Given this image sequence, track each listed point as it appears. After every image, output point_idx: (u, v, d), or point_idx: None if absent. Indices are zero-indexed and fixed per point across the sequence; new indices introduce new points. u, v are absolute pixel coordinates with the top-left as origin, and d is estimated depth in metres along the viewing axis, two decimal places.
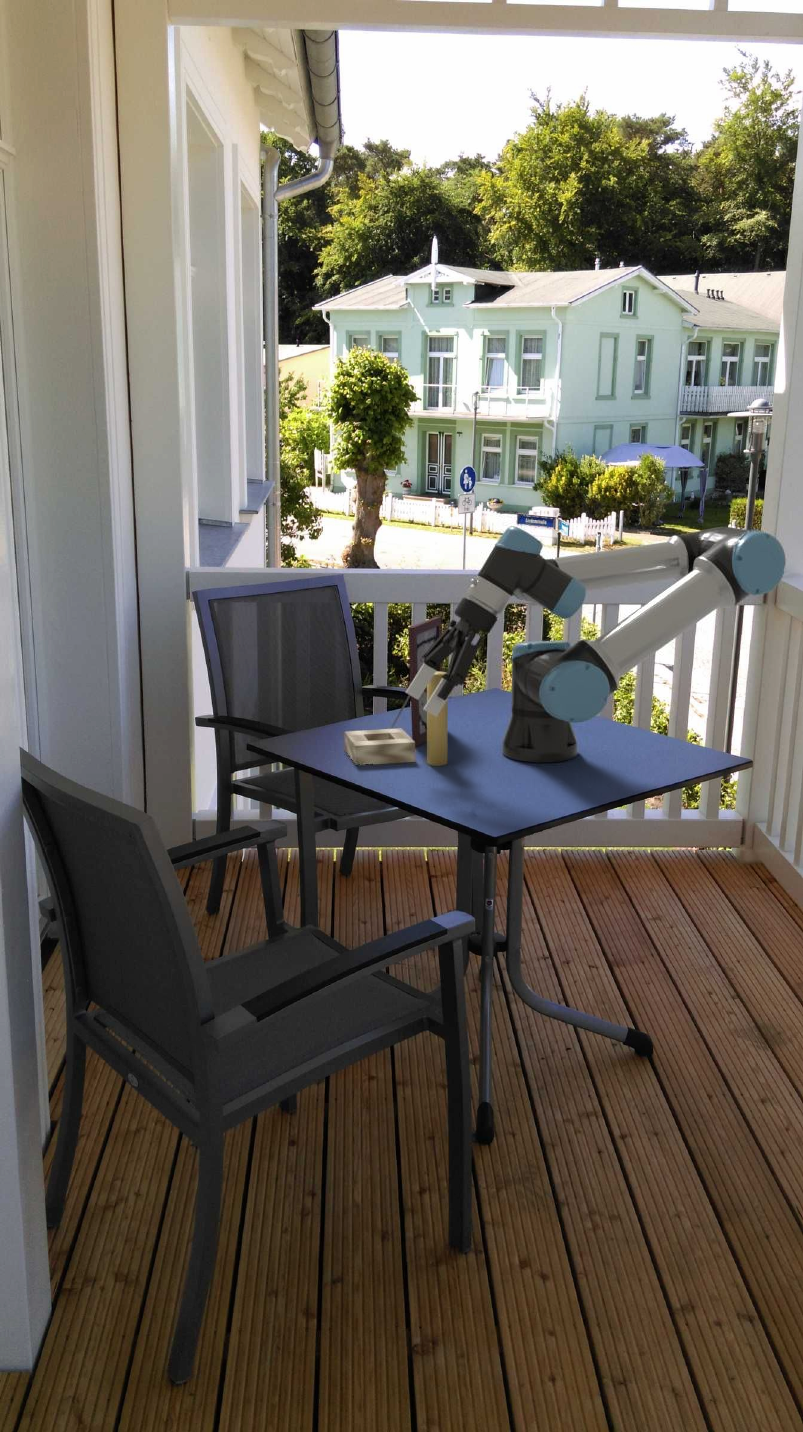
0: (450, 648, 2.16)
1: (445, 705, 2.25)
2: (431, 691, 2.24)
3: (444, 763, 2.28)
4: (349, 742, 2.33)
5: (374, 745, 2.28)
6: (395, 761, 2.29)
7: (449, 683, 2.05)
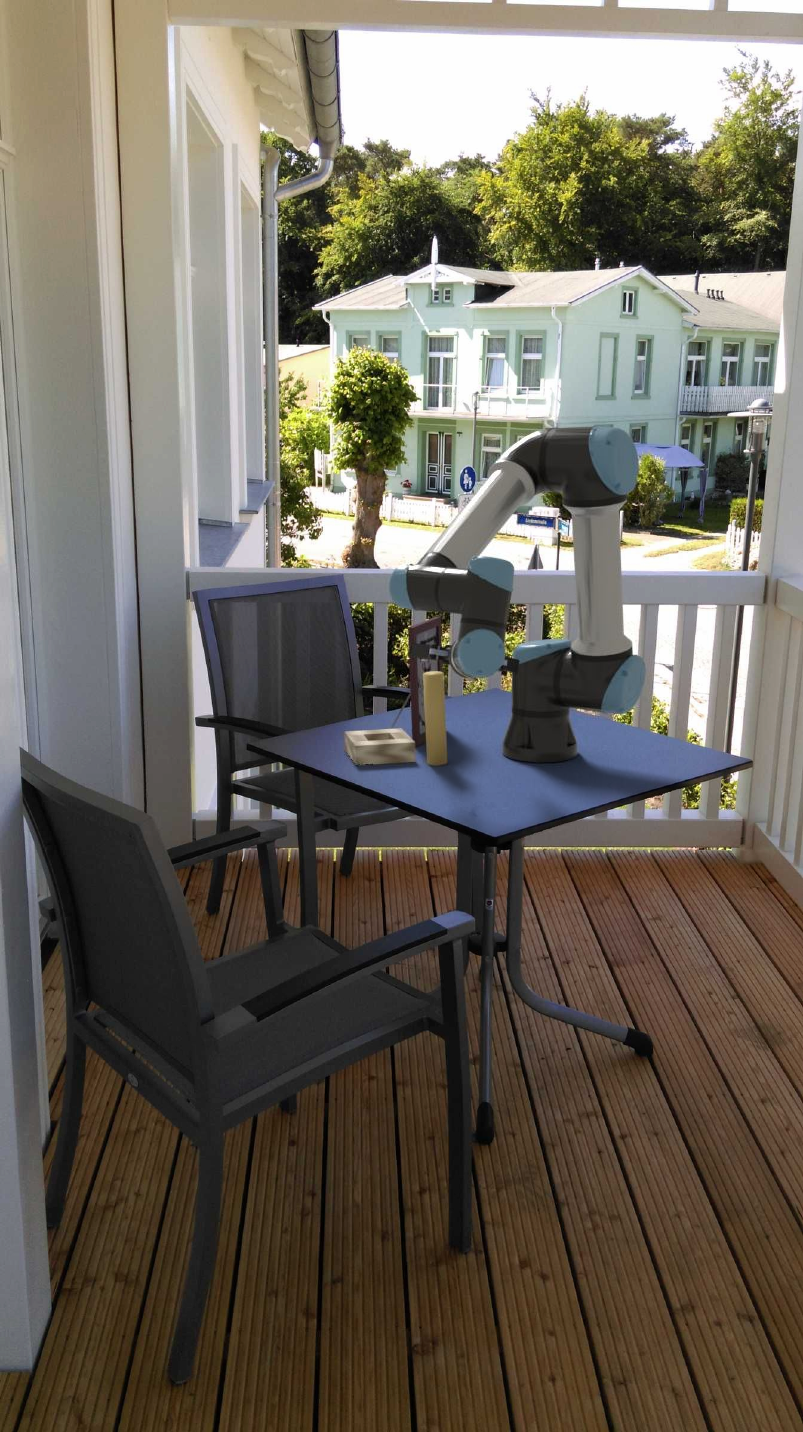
0: None
1: (442, 705, 2.25)
2: (428, 691, 2.24)
3: (444, 762, 2.28)
4: (349, 742, 2.33)
5: (374, 745, 2.28)
6: (395, 761, 2.29)
7: None
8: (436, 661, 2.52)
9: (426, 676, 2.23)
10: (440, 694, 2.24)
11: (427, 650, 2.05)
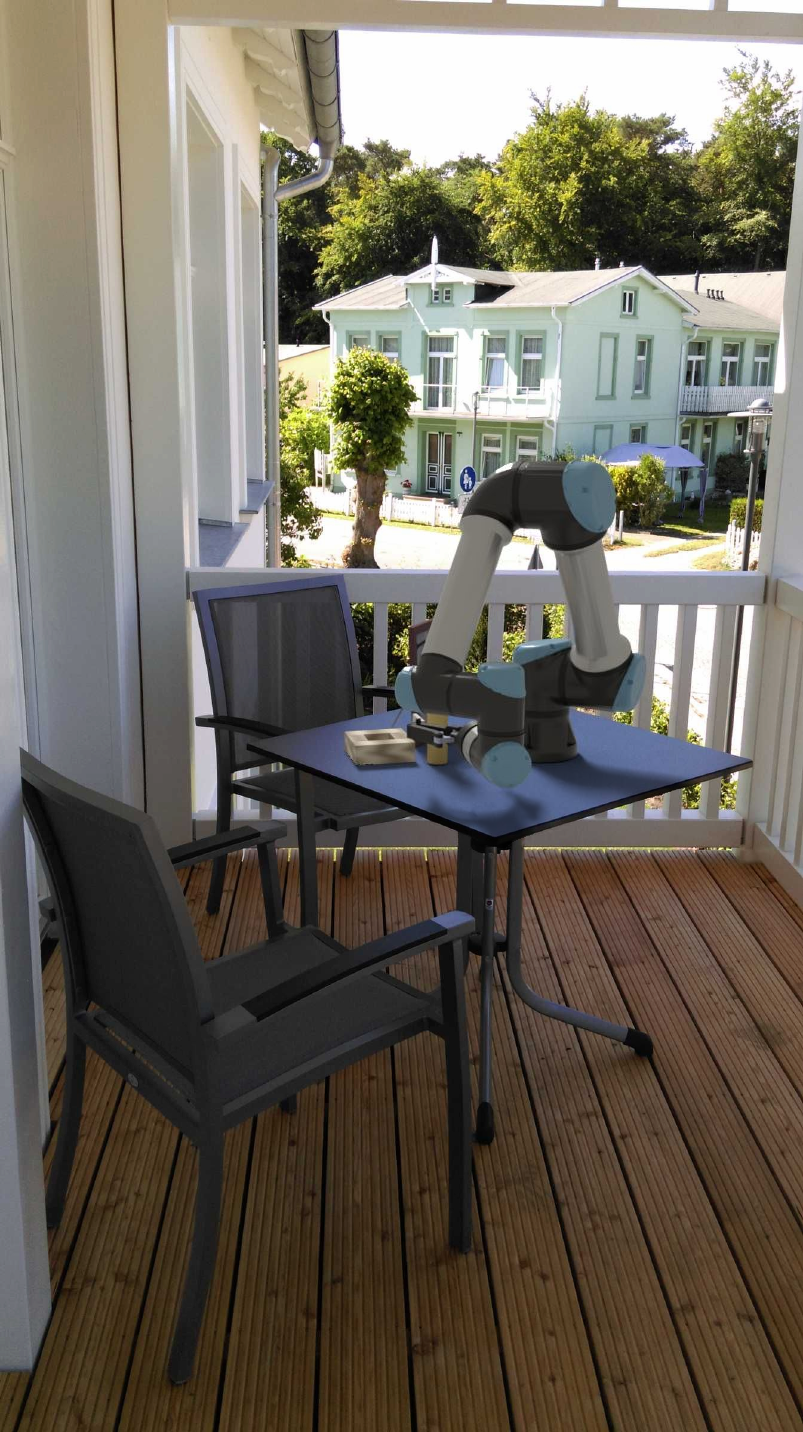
0: None
1: None
2: None
3: (444, 762, 2.28)
4: (349, 742, 2.33)
5: (374, 745, 2.28)
6: (395, 761, 2.29)
7: None
8: None
9: None
10: None
11: (430, 737, 2.02)
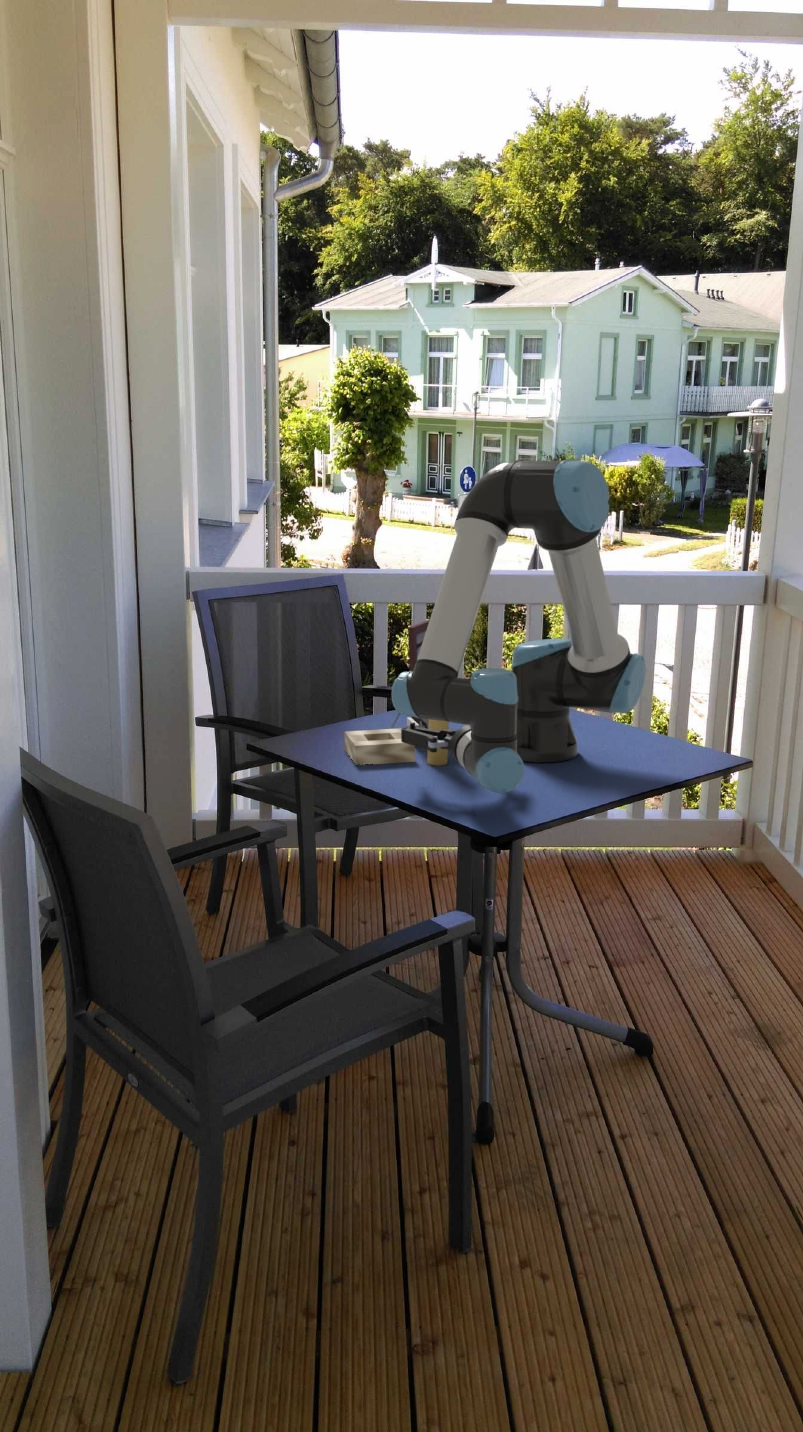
0: None
1: None
2: None
3: (444, 763, 2.28)
4: (349, 742, 2.33)
5: (374, 745, 2.28)
6: (395, 761, 2.29)
7: None
8: None
9: None
10: None
11: (425, 741, 2.06)
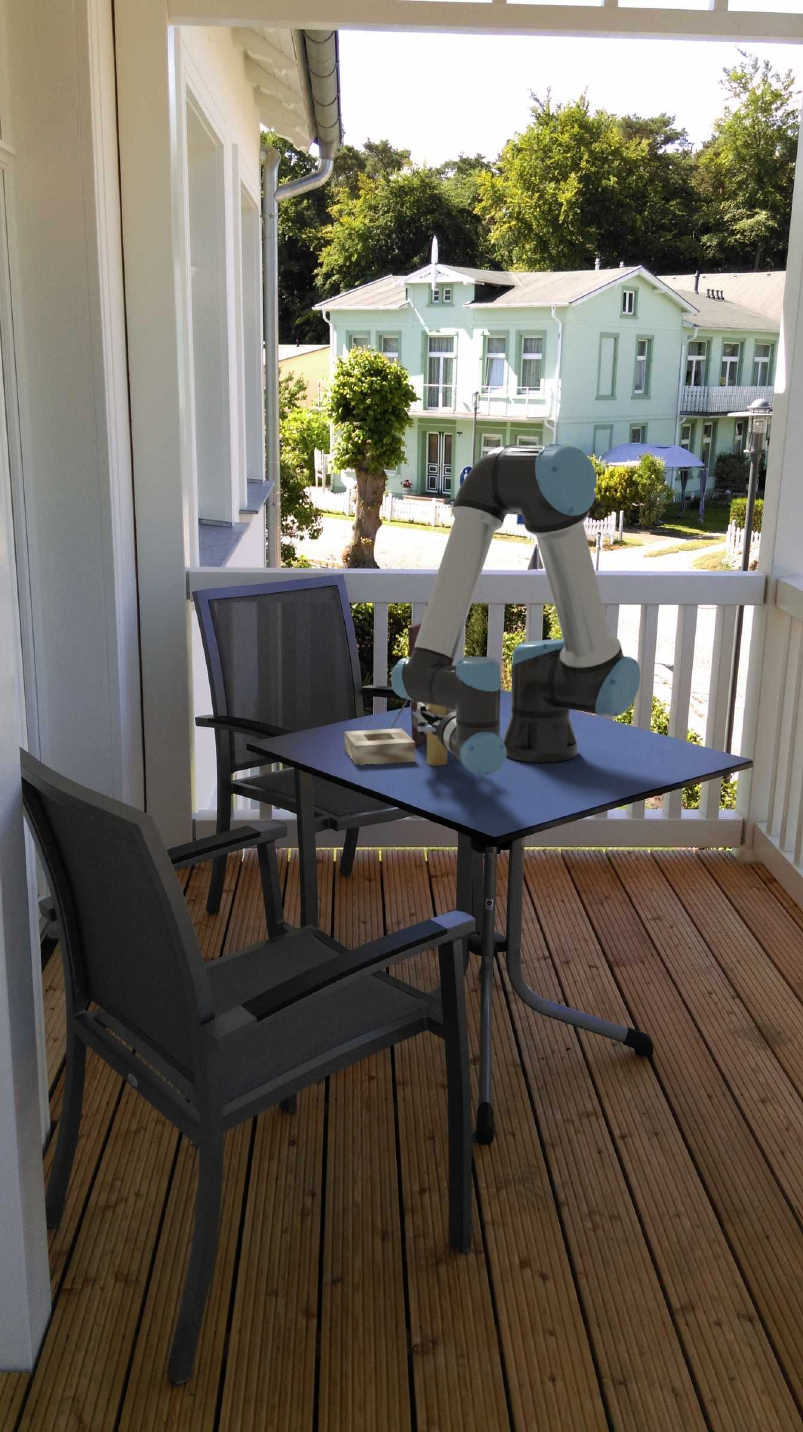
0: None
1: None
2: None
3: (444, 763, 2.28)
4: (349, 742, 2.33)
5: (374, 745, 2.28)
6: (395, 761, 2.29)
7: None
8: None
9: None
10: None
11: None
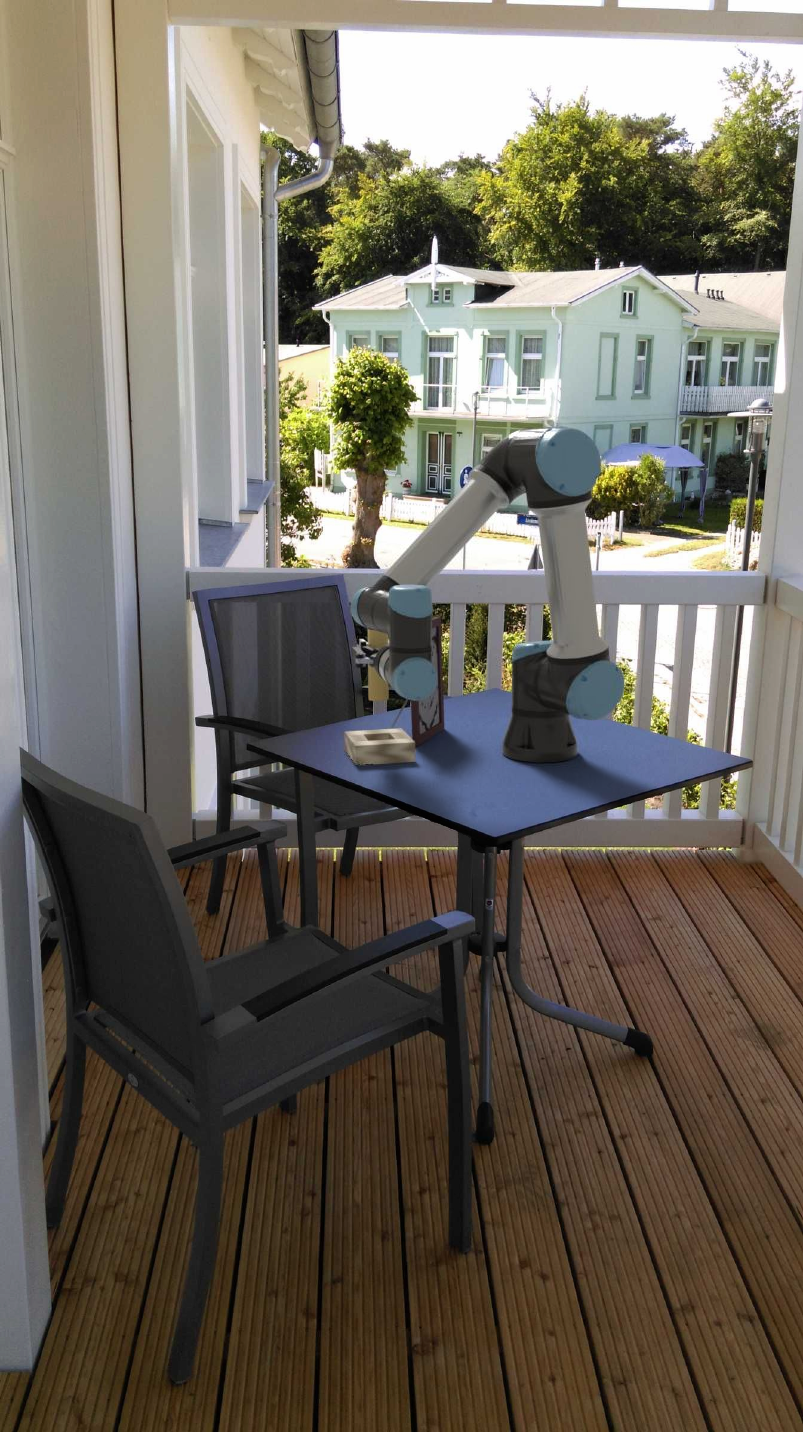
0: None
1: (385, 641, 2.28)
2: None
3: (385, 699, 2.30)
4: (349, 742, 2.33)
5: (374, 745, 2.28)
6: (395, 761, 2.29)
7: None
8: (436, 661, 2.52)
9: None
10: None
11: None
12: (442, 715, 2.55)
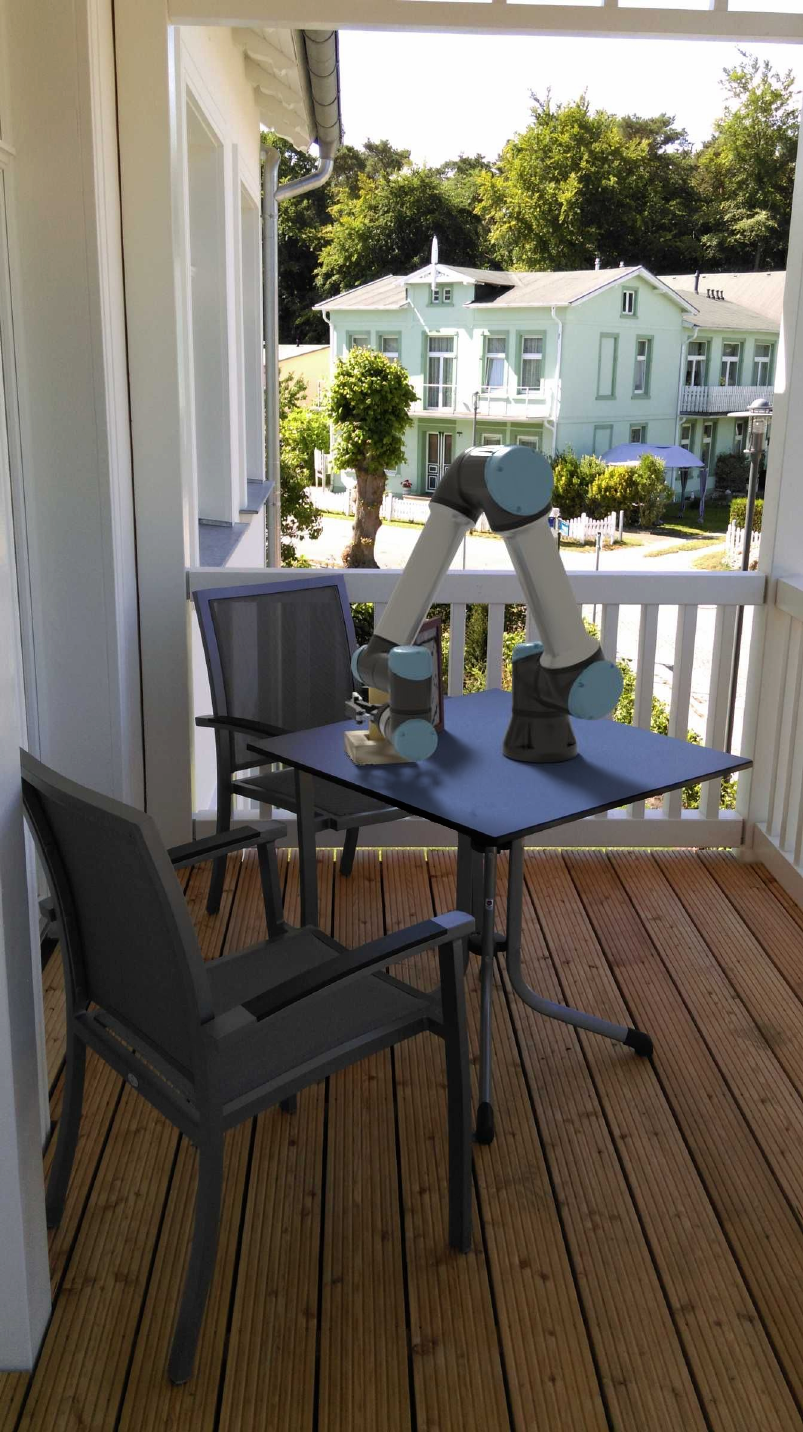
0: None
1: (386, 699, 2.31)
2: None
3: None
4: (349, 742, 2.33)
5: (374, 745, 2.28)
6: (395, 761, 2.29)
7: None
8: (436, 661, 2.52)
9: None
10: None
11: (355, 714, 2.22)
12: (442, 715, 2.55)
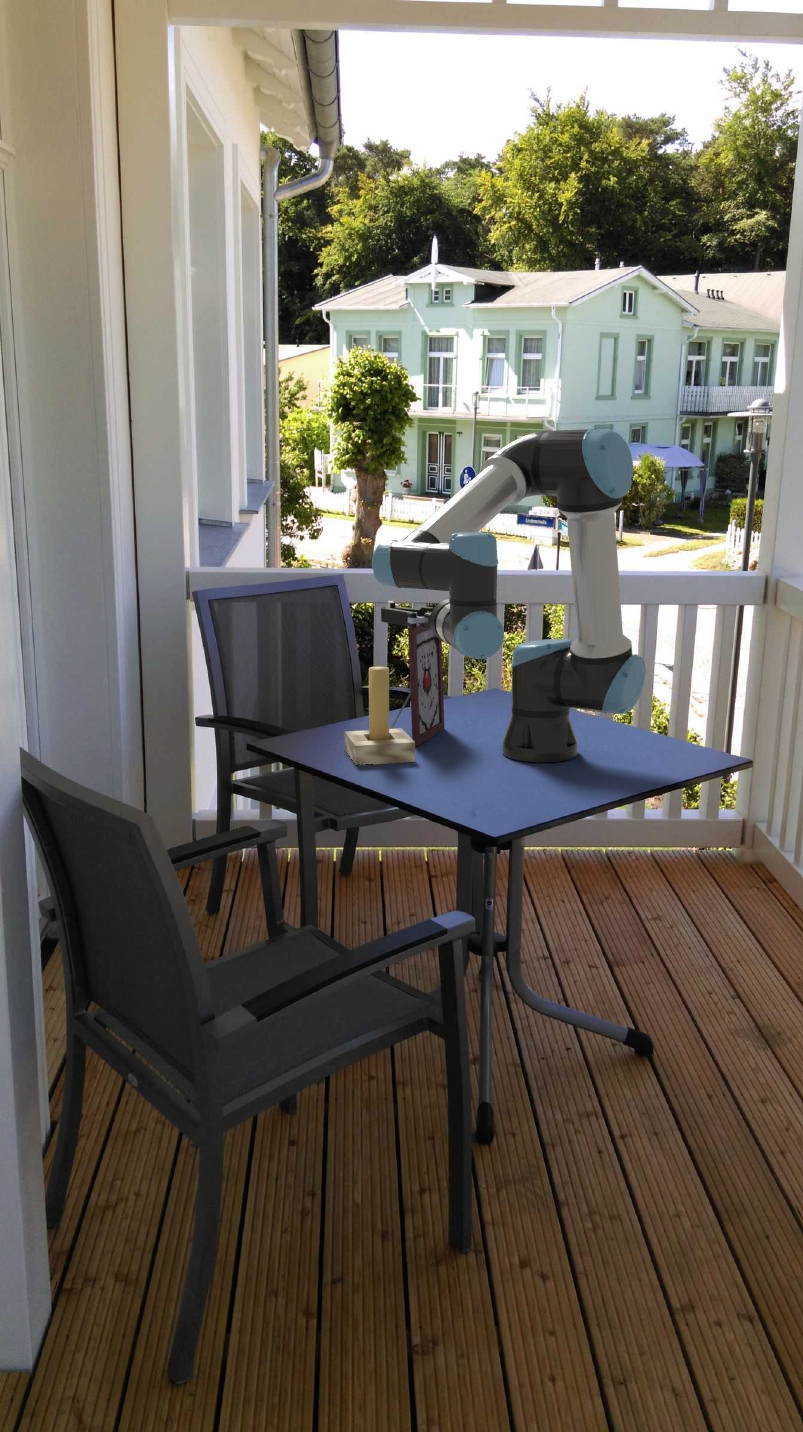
0: None
1: (386, 699, 2.31)
2: (372, 685, 2.30)
3: None
4: (349, 742, 2.33)
5: (374, 745, 2.28)
6: (395, 761, 2.29)
7: None
8: (436, 661, 2.52)
9: (371, 670, 2.29)
10: (385, 689, 2.30)
11: (404, 618, 2.00)
12: (442, 715, 2.55)
